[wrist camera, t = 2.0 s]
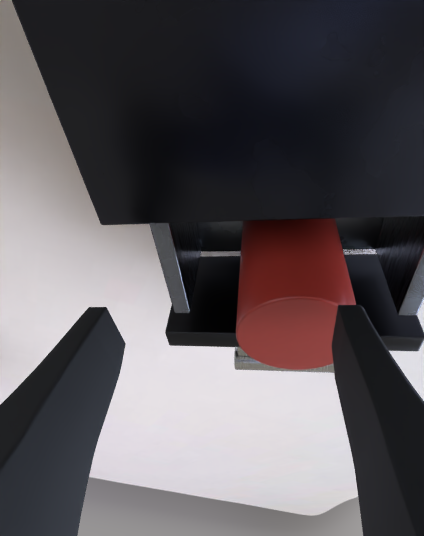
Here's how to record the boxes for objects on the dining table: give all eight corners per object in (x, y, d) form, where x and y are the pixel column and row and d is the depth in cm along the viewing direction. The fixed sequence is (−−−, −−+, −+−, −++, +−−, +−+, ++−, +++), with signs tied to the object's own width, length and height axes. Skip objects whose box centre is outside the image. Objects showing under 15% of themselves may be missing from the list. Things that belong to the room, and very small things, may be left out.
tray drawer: (373, 315, 24) (395, 396, 20) (195, 313, 26) (182, 387, 22) (469, 17, 13) (568, 63, 9) (137, 51, 15) (88, 103, 10)
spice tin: (337, 174, 16) (374, 298, 11) (326, 247, 19) (351, 372, 14) (241, 178, 17) (231, 297, 12) (245, 248, 20) (239, 368, 15)
